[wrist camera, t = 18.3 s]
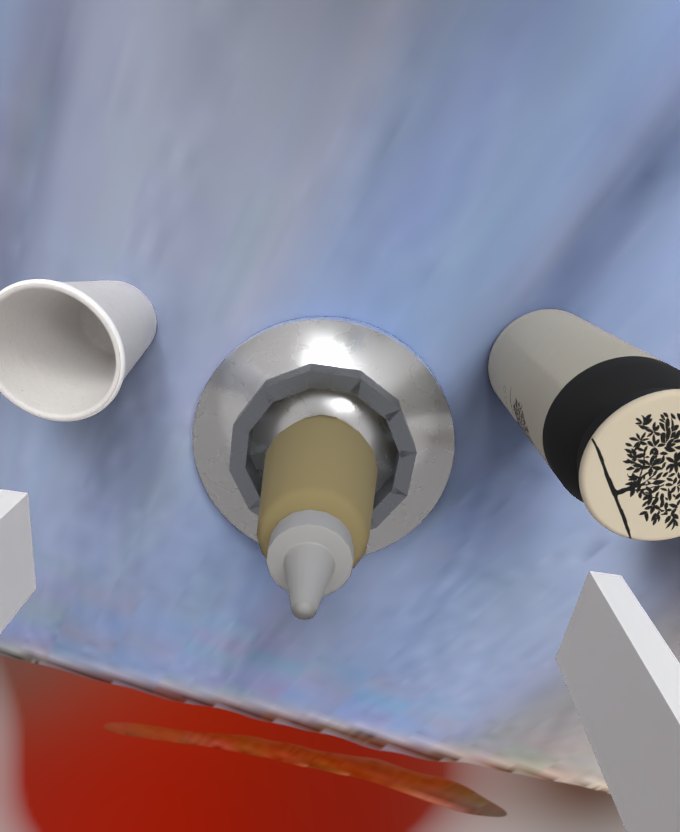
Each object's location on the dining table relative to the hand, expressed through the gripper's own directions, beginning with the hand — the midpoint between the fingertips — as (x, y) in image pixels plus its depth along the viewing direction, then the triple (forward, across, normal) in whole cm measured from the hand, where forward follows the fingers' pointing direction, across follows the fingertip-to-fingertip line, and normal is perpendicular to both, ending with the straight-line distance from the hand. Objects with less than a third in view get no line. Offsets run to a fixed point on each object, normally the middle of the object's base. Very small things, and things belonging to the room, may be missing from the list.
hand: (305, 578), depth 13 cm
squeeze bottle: (+28, 0, -10) cm, 30 cm away
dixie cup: (+30, -16, -3) cm, 34 cm away
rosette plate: (+29, 0, -10) cm, 31 cm away
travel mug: (+30, +15, -2) cm, 34 cm away
